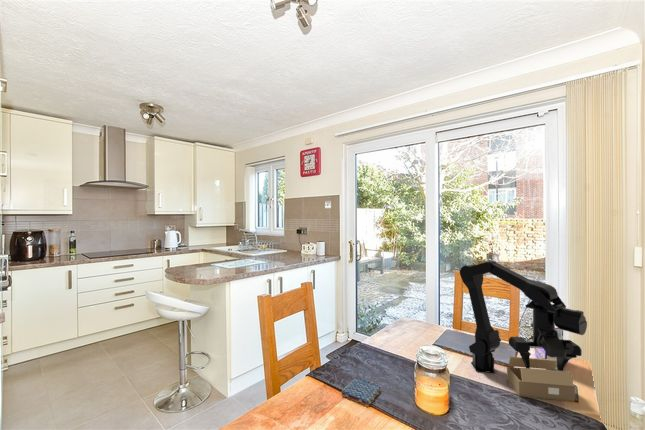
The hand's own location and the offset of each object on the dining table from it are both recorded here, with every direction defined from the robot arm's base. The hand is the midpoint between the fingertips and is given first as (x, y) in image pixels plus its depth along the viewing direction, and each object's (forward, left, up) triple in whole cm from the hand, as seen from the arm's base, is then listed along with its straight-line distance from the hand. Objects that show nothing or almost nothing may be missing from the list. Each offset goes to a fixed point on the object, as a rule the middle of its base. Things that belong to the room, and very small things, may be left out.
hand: (543, 371), depth 97 cm
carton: (0, +3, -8) cm, 8 cm away
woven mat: (-59, -9, -9) cm, 60 cm away
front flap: (0, -1, -1) cm, 2 cm away
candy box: (+13, +24, -8) cm, 29 cm away
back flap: (0, +7, -1) cm, 7 cm away
